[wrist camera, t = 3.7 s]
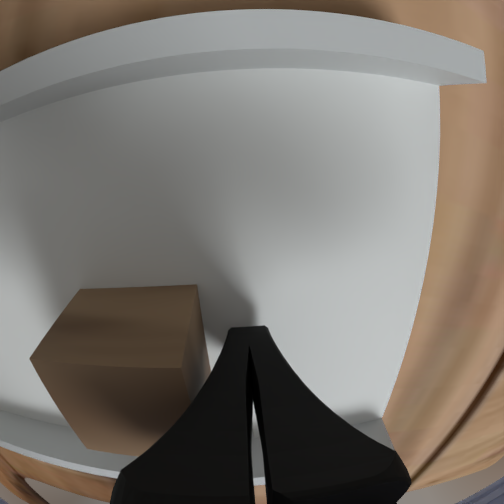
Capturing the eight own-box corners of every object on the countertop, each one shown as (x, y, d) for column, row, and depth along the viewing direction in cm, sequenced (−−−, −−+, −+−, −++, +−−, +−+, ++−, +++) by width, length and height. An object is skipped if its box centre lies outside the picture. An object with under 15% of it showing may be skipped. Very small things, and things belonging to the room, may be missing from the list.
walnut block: (212, 378, 12) (208, 460, 8) (112, 376, 12) (87, 448, 8) (196, 284, 10) (181, 367, 7) (79, 289, 10) (29, 358, 7)
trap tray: (370, 409, 16) (390, 461, 12) (-46, 384, 15) (-65, 413, 11) (415, 63, 9) (483, 50, 5) (-121, 182, 8) (-155, 199, 4)
